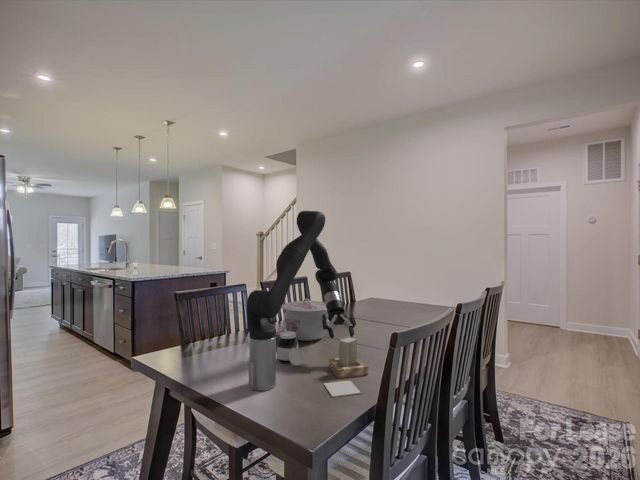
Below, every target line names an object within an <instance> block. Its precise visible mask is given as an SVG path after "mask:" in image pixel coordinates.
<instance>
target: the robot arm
mask: <svg viewBox="0 0 640 480" xmlns="http://www.w3.org/2000/svg"><path fill="white" fill-rule="evenodd" d="M325 224H326V216H325V214H324V213H323V212H322V211H317V210H302V211H299V213H298V214H297V217H296V226H297V229H298V231H299V232H300V235H299V236H298V237H296V238H294V239H293V240H291V241H290V242H289V243H287V244H286V245H285V246H284V248H283V249H282V250H281V252H280V254H279V255H278V257H277V260H276V263H275V264H276V268H275V269H276V279H275V281H274V283H273V285H272V287H271V288H270V290H262V289H256V290H253V291H251V292H250V294H249V295H248V296H247V300H246V309H245V310H246V327H247V331H248V334H249V336H248V337H249V341H248V342H249V347H248V348H249V349H248V350H249V352H248V353H249V354H248V356H249V357H248V388H249V391H258V392H259V391H261V392H263V391H269V390H271V389H274V388H275V387H276V386H277V385H276V383H277V378H276V377H277V375H276V373H277V370H276V369H277V364H276V363H277V330H276V327H275V326H273V325H272V324H271V323H270V322H269V321H268V319H273V318H275V317H277V315H278V314H279V313H280V311H281V309H282V308H281V307H282V305H283V304H284V302H285V299H286V297H287V294H288V292H289V290H290V287H291V285H292V283H293V281H294V279H295V277H296V276H297V274H298V272H299V271H300V269H301V267H302V265H303V263H304V261H305V259H306V257H307V255H308V253H309V252H310V253H311V255H312V259H313V261H314V265H315V268H317V270H316V272H315V274H314V277H315V280H316V282H317V283H318V285H319V286H320V288H321V290H322V294H323V298H324V299H323V300H324V302H325V305H326V309H327V313H328V316H325V315H324V314H323V316H322V325H323V329H324V330H325V329H326V330H327V331H328V336H329V337H330V339H334V337H335V335H334V330H333V326H339V325H340V326H342V325H343V326H344V327H345V328H347V329H348V333H349V336H350V338H354V337H353V336H354V335H355V330H354V328H355V327H356V325H357V322H356V319H355V317H354V314H353V312H350V313H348V314H347V313H346V311H345V308H344V305H343V300H342V298H341V295H340V292H339V289H338V288H339V287H338V285H337V283H335V282H334V281H336V280H337V279H338V271H337V270H336V268H335V267H334V265H333V264H332V262H331V261H330V257H329V253H328V251H327V249H326V247H325V246H324V244H323V243H322V242H321V241H320V240H319V239H318V238H319V236H320V235H321V233H322V231H323V229H324V227H325ZM327 319H328V320H330V322H329V326H328V325H327V322H326V321H327Z"/></svg>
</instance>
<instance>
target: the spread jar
mask: <svg viewBox="0 0 640 480" xmlns="http://www.w3.org/2000/svg"><path fill="white" fill-rule="evenodd" d="M276 360H277V361H278V362H279V363H282V364H286V365H287V364H291V365H292V366H295V367H296V366H300V365H302V363H303V362H304V353H303V350H302V349H300V348H299V340H297V338H296V333H295V332H292V331H287V330H286V331H281V332H280V333H279V339H278V341H277V344H276Z"/></svg>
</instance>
